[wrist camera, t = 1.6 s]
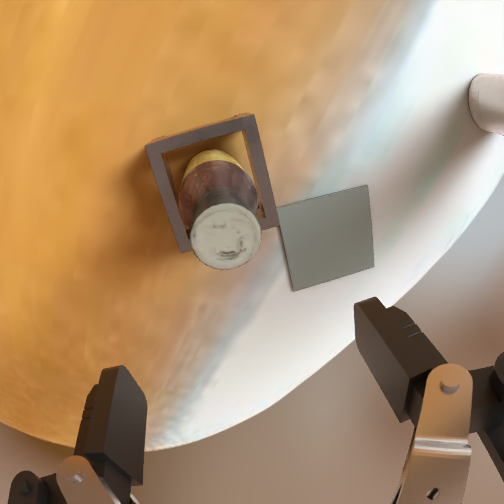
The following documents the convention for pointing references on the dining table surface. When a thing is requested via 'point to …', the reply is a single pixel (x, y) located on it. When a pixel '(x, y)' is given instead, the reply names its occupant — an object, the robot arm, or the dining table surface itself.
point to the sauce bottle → (220, 210)
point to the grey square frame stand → (163, 144)
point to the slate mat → (327, 236)
